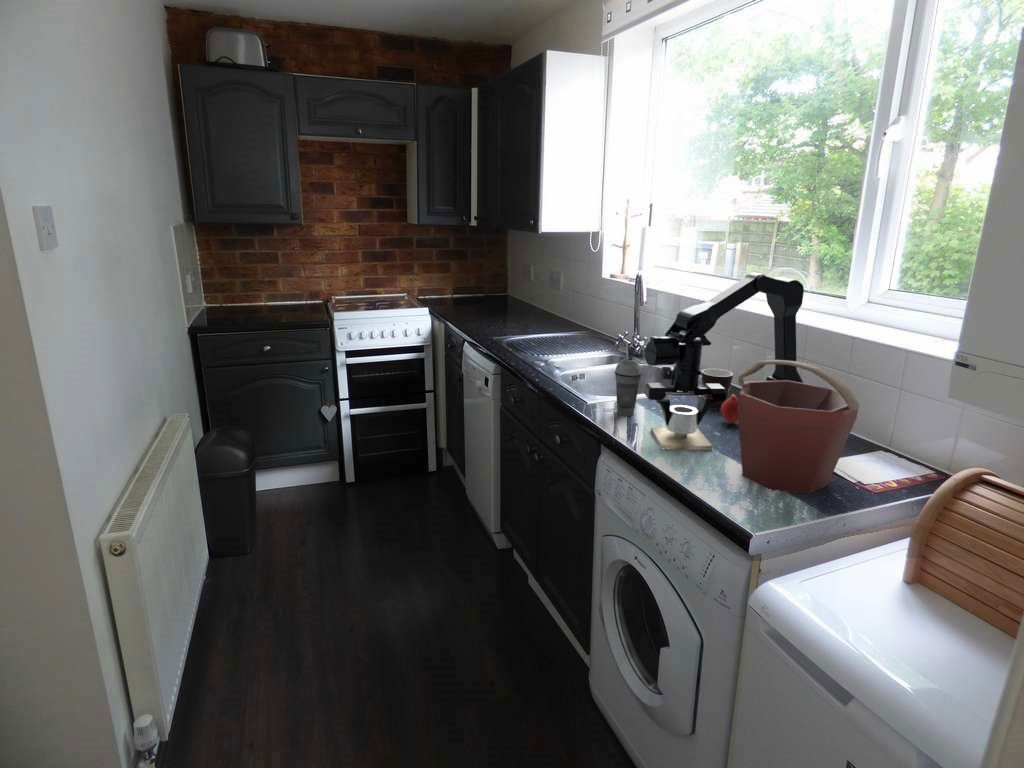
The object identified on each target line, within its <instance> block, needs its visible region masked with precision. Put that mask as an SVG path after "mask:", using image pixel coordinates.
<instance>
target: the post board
mask: <svg viewBox="0 0 1024 768" xmlns="http://www.w3.org/2000/svg"><path fill="white" fill-rule="evenodd" d="M650 433H651V434H652V436H653V435H654V436H653V438H654V439H655V440H657V441H656V442H657V444H658V443H659V444H658V445H660V446H661V447H660V446H659V447H660V449H661V448H669V449H668V450H692V451H693V450H694V451H696V450H699V451H712V450H713V445H712V443H711V442H710V441H709V440H708V439H707V438H706V436H705V435H704V434H703V432H701V430H700V429H699V428H698V427H697V431H696V432H695V433H692V434H679V433H674V432H671V431H669V430H668V429H667V428H666V427H650Z"/></svg>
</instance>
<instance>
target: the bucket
mask: <svg viewBox="0 0 1024 768" xmlns="http://www.w3.org/2000/svg"><path fill="white" fill-rule="evenodd" d="M775 364H780V365H790V366H795V367H797V368H800V369H802V370H804V371H805V370H806V371H808V372H812V374H813V375H816V376H818V377H819V378H821V380H823V381H825V382H826V383H828V384H829V385H830V386H832V387H833V388H831V387H827V386H826V387H825V386H821V385H815V384H811V383H804V382H803V383H800V382H795V381H789V380H775V381H767V380H754V381H746V380H745V379H744V378H746V377H748V376H751V375H753V374H755V373H756V372H757V373H758V372H759V371H760V370H761V369H763V368H764V367H765V366H766V365H775ZM737 379H738V385H739V386H740V387H741V389H740V391H739V393H738V398H737V399H738V405H737V409H738V421H737V422H738V431H739V432H738V433H739V443H740V446H739V447H740V456H741V466H742V467H741V468H742V469H741V470H742V476H743V477H745V478H747V479H748V480H750V481H752V482H754V483H755V482H756V484H757V483H758V485H759V484H760V486H761V485H762V486H761V487H763V486H764V487H763V488H765V487H766V488H765V489H767V488H768V489H771V490H770V491H774V490H779V491H778V492H782V491H788V492H787V493H790V492H796V493H795V494H799V493H805V494H804V495H807V494H809V495H811V494H813V493H815V492H817V491H819V490H822V489H823V488H826V487H828V485H829V484H830V483H829V482H830V480H831V478H832V476H833V474H834V471H835V469H836V467H837V465H838V462H839V460H840V459H841V458H840V457H841V455H842V453H843V450H844V448H845V445H846V443H847V441H848V439H849V436H850V434H851V431H852V429H853V427H854V424H855V422H856V420H857V418H858V413H859V408H860V402H859V401H858V399H856V396H855V395H854V393H853V392H852V390H851V388H849V387H848V386H847V385H846V384H844V383H843V382H842V381H841V380H840V379H839V378H837V377H836V376H834V375H833V374H832V373H830V372H828V371H826V370H825V369H824V368H822V367H819V366H816V365H812V364H809V363H805V362H802V361H798V360H797V361H789V360H775V359H769V360H759V361H757V362H756V363H755V364H754V365H752V366H751V367H750V368H748V369H746V370H745V371H741V372H740V374H738V378H737ZM768 489H767V490H768ZM818 489H819V490H818ZM816 490H817V491H816ZM814 491H815V492H814ZM810 493H811V494H810Z"/></svg>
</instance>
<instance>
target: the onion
mask: <svg viewBox="0 0 1024 768" xmlns="http://www.w3.org/2000/svg"><path fill="white" fill-rule="evenodd" d="M737 405H738V398H737V396H736V394H731V397H728V398H727V400H726V401H725V402H724V403H723V404H722V406H721V409H720V414H721V417H723V418H724V420H725V421H727V423H728V424H731V425H732V424H733V423H736V422H738V409H737Z"/></svg>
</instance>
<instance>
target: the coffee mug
mask: <svg viewBox="0 0 1024 768" xmlns="http://www.w3.org/2000/svg"><path fill="white" fill-rule="evenodd" d="M733 378H734V373H733V372H732V371H730V370H726V369H720V368H706V369H702V370H701V388H704V385H705V384H706V383H712V384H720V385H721V386H723V387H724V388H725V389H726V390H727V399H729V393H730V389H731V385H732V382H733ZM724 402H725V401H717V403H716V404H713V405H712V406H711V407H710V408H709V410H710V409H711V410H721V406H722V404H723V403H724Z"/></svg>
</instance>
